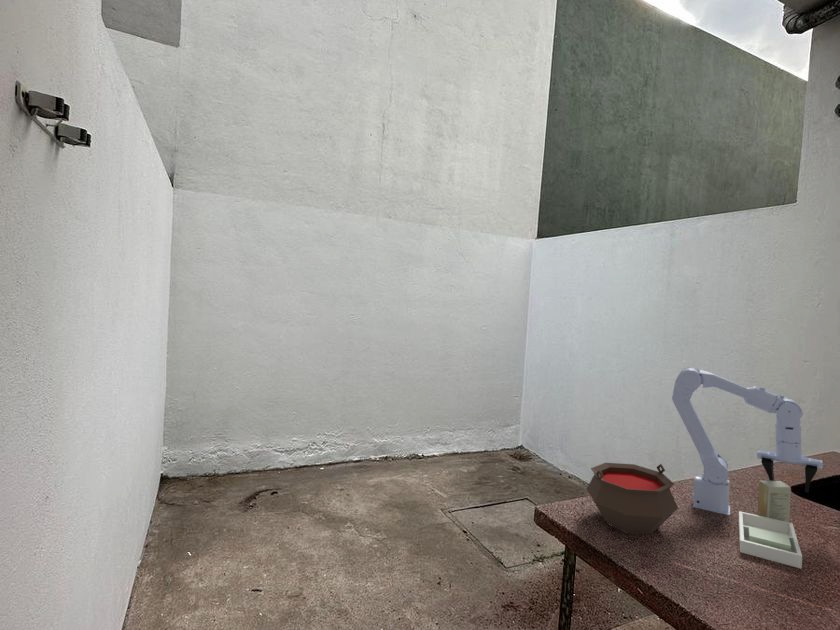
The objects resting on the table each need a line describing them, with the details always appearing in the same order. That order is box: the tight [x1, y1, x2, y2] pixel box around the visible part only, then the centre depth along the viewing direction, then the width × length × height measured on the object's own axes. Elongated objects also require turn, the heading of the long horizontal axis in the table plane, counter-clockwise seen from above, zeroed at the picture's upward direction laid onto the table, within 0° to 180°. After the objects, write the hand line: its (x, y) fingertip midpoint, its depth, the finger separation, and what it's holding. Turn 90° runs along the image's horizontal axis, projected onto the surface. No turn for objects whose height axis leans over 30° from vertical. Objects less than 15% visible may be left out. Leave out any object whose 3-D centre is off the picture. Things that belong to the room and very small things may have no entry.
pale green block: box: [749, 526, 791, 552], centre depth 114 cm, size 8×6×4 cm
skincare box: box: [756, 479, 792, 523], centre depth 129 cm, size 6×4×12 cm
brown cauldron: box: [586, 462, 679, 536], centre depth 129 cm, size 24×24×16 cm
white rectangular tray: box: [738, 510, 803, 570], centre depth 118 cm, size 12×20×4 cm, turn 145°
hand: (789, 487), depth 129 cm, fingers open, 7 cm apart
